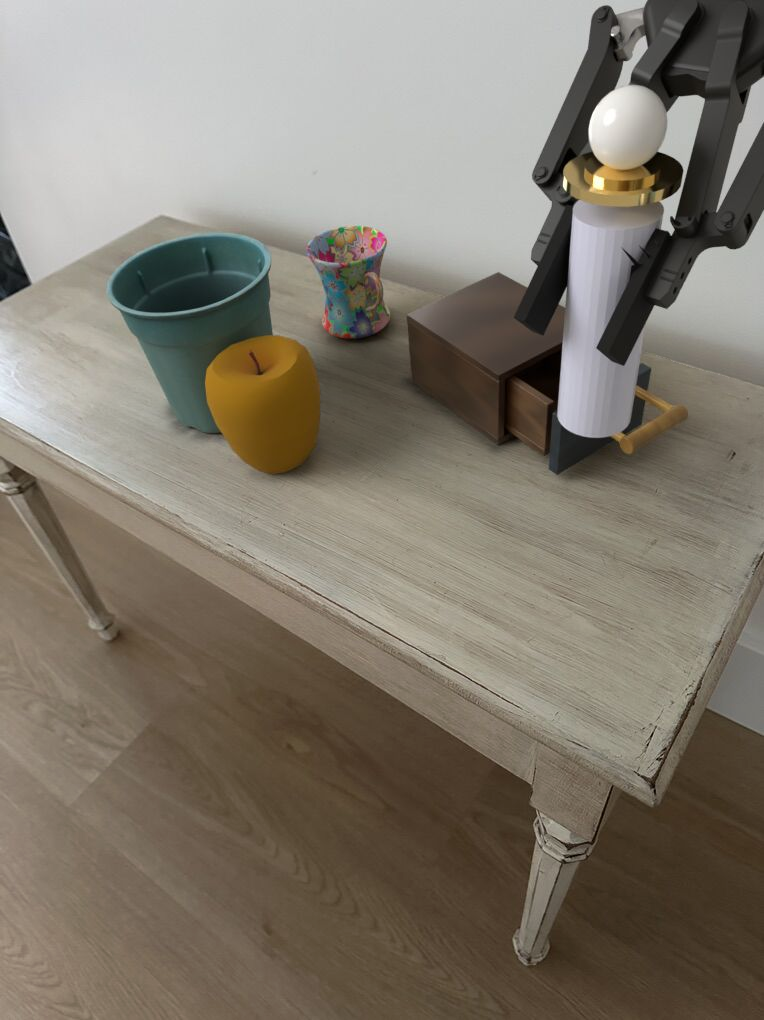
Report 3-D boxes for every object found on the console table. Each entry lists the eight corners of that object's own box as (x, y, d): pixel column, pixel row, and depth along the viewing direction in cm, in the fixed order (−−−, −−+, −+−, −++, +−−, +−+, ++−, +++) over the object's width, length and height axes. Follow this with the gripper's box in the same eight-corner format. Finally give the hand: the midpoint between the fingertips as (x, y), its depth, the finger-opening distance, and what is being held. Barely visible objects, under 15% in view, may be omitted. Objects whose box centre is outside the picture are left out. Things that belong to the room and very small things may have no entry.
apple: (273, 410, 87) (249, 306, 78) (352, 440, 82) (336, 333, 73) (205, 469, 81) (170, 364, 72) (286, 505, 76) (259, 397, 67)
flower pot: (126, 437, 86) (72, 306, 75) (196, 352, 97) (157, 227, 86) (262, 457, 82) (226, 322, 70) (319, 366, 92) (296, 235, 81)
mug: (307, 321, 100) (292, 242, 92) (370, 296, 102) (361, 217, 95) (353, 365, 92) (341, 282, 84) (420, 337, 95) (414, 254, 87)
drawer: (693, 456, 75) (707, 398, 70) (606, 511, 71) (615, 454, 66) (546, 366, 87) (550, 311, 82) (465, 409, 83) (464, 354, 78)
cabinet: (588, 394, 84) (596, 324, 78) (498, 445, 80) (498, 375, 74) (497, 338, 93) (498, 271, 87) (411, 381, 89) (406, 314, 83)
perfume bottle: (530, 434, 51) (546, 99, 37) (573, 387, 54) (602, 61, 40) (614, 465, 48) (666, 116, 34) (654, 413, 51) (717, 73, 37)
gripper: (972, -33, 38) (735, 414, 42) (640, -52, 47) (472, 314, 51) (986, -159, 32) (706, 380, 35) (600, -152, 41) (412, 273, 45)
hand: (568, 340), depth 43 cm, fingers closed on perfume bottle, 4 cm apart
